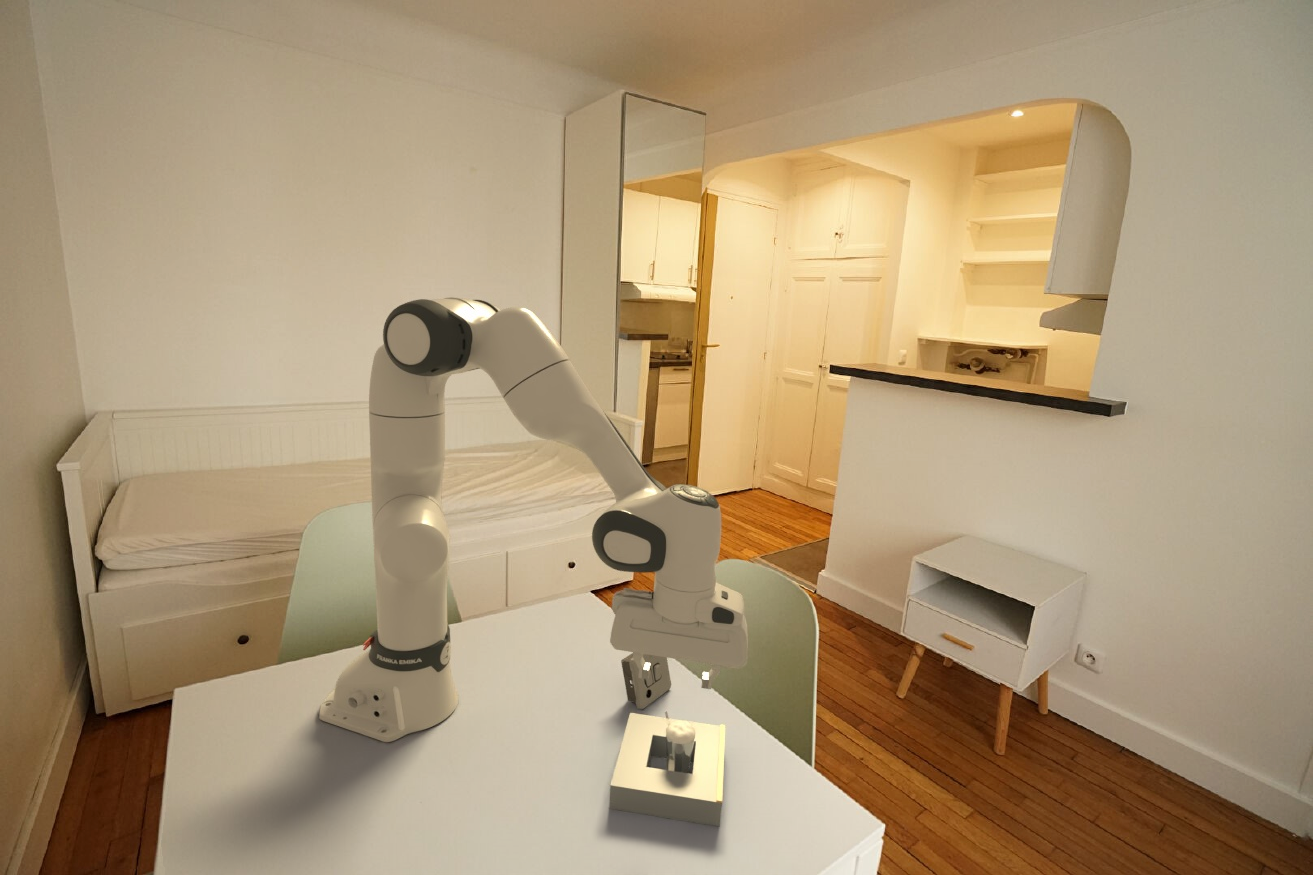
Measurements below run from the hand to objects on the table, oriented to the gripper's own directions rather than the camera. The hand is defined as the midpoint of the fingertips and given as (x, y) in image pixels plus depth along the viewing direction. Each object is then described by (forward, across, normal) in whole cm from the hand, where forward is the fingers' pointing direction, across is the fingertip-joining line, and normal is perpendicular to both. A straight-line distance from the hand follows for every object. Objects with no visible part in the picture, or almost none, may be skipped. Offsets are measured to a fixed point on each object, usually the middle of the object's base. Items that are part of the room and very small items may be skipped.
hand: (675, 681), depth 91 cm
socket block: (+17, +1, 0) cm, 17 cm away
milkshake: (+17, +1, +1) cm, 17 cm away
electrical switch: (+17, -6, +20) cm, 27 cm away
